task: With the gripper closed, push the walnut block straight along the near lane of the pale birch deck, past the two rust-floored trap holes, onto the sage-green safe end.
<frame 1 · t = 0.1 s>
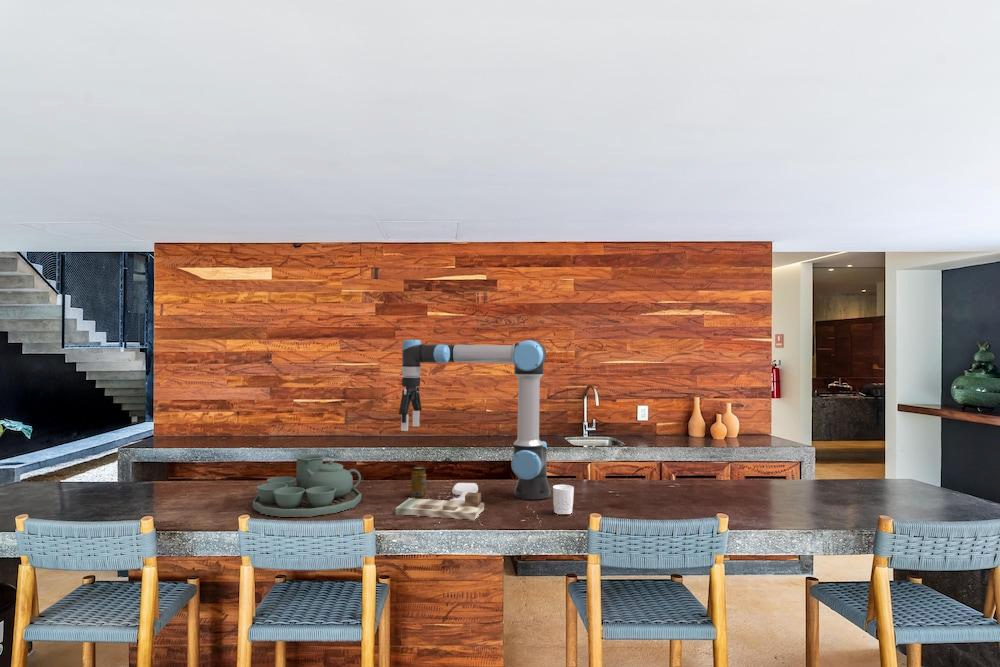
hand: (410, 428, 253), 28 cm above the counter, tool pointing down, fingers open, 13 cm apart
trap deck: (440, 512, 230), on the counter
walnut block: (472, 504, 231), point 2 cm above the counter, touching trap deck
condiment: (419, 497, 252), on the counter
white cup: (563, 514, 229), on the counter
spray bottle: (463, 497, 255), on the counter
tea set: (308, 505, 239), on the counter
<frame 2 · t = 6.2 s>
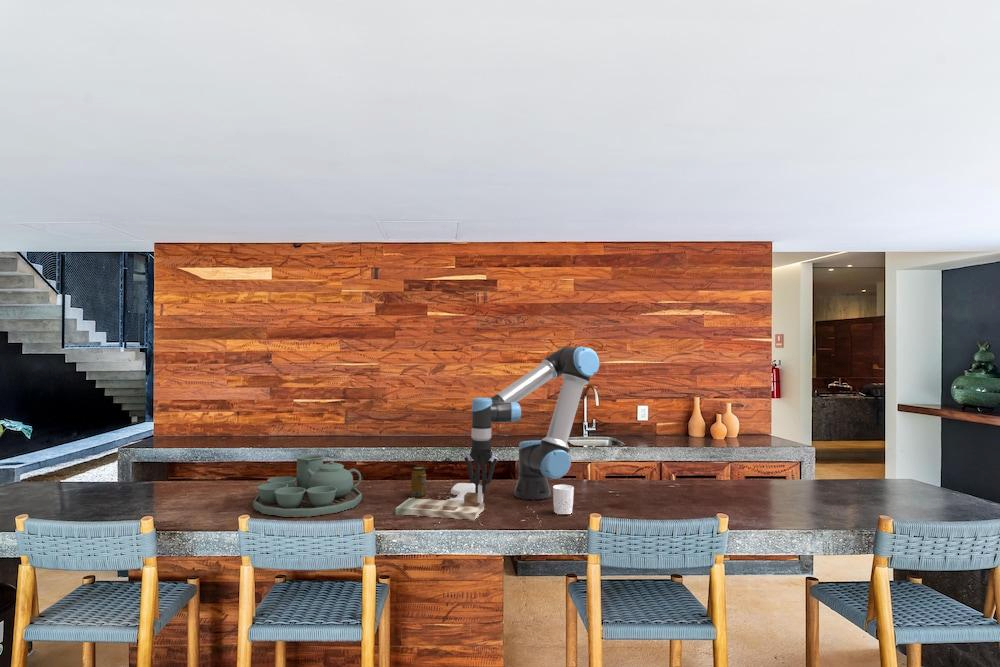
hand: (480, 501, 230), 4 cm above the counter, tool pointing down, fingers closed
walnut block: (472, 504, 231), point 3 cm above the counter, touching gripper
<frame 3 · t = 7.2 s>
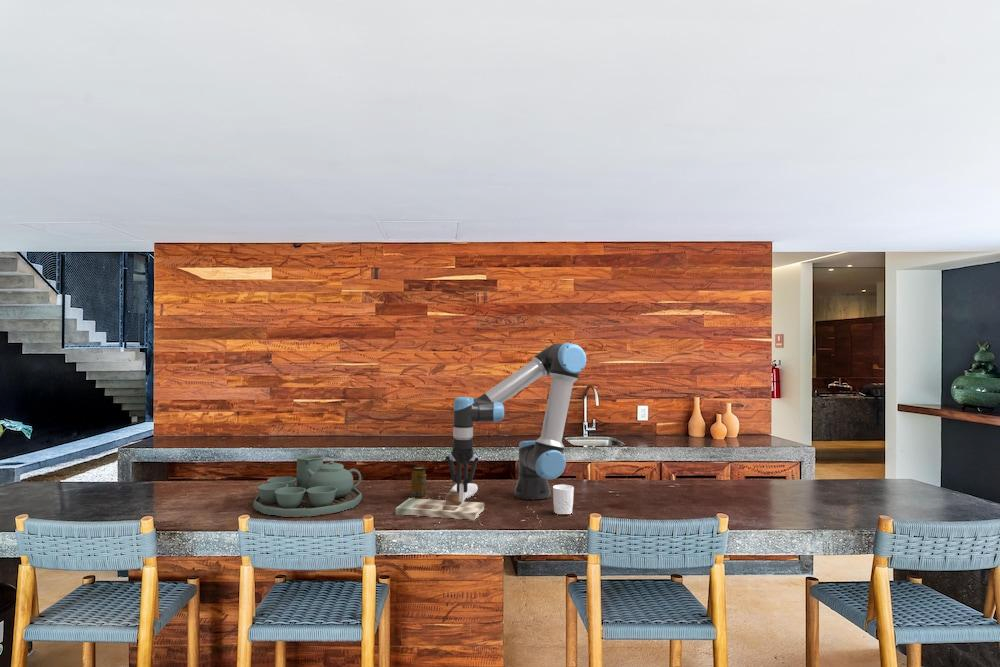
hand: (461, 500, 232), 4 cm above the counter, tool pointing down, fingers closed
walnut block: (453, 503, 232), point 3 cm above the counter, touching gripper
everything else where it was.
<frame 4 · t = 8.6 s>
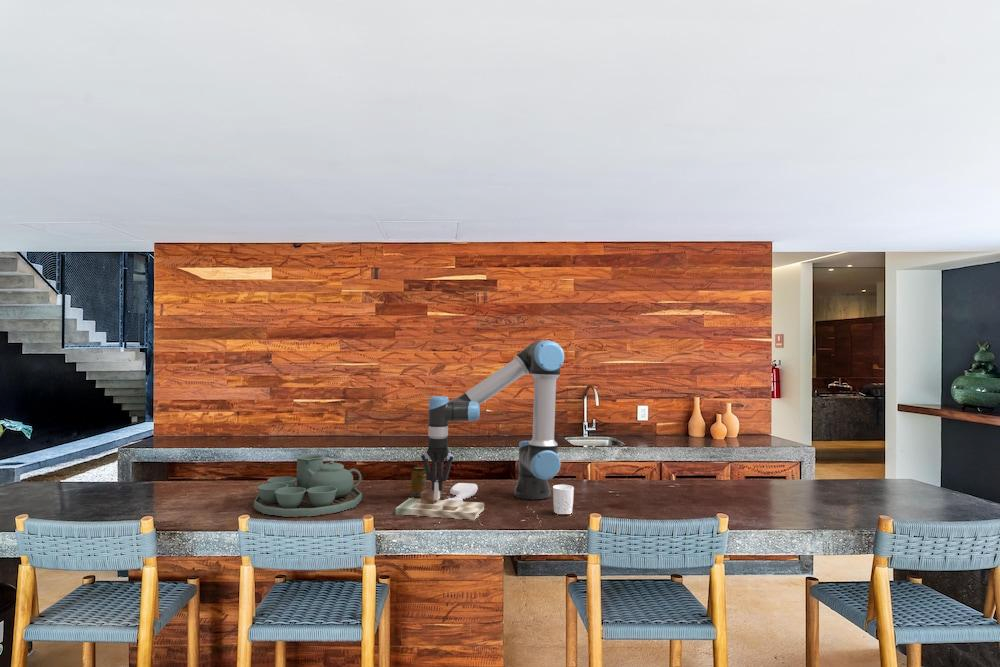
hand: (437, 499, 234), 4 cm above the counter, tool pointing down, fingers closed
walnut block: (428, 502, 234), point 3 cm above the counter, touching gripper, trap deck
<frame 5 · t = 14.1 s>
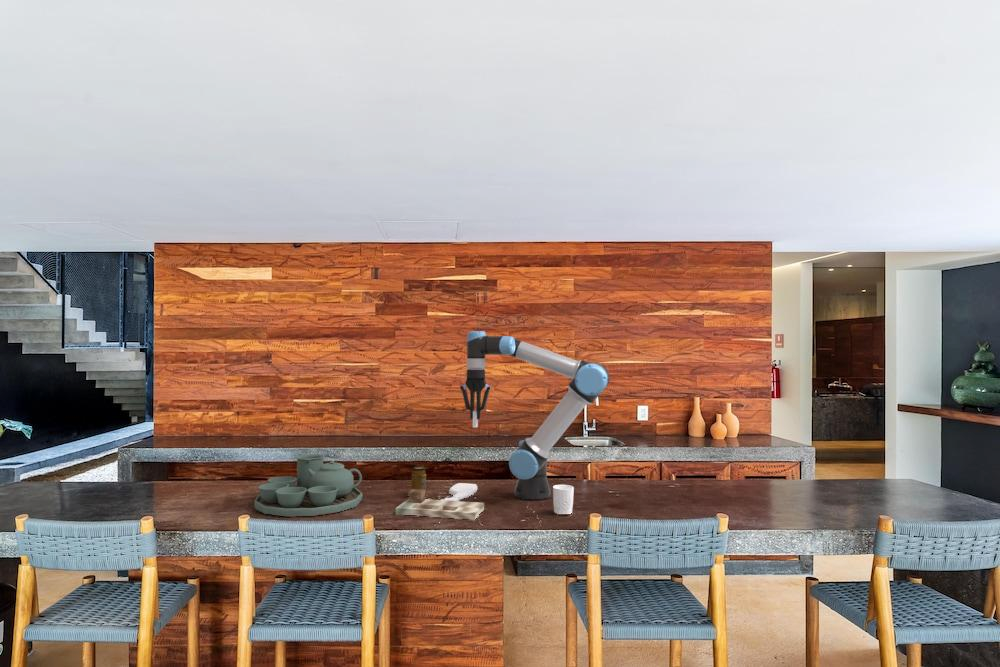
hand: (475, 427, 249), 29 cm above the counter, tool pointing down, fingers closed
walnut block: (416, 501, 235), point 2 cm above the counter, touching trap deck
at the end: walnut block inside the target area on the trap deck (1.4 cm from its centre), point 2.5 cm above the trap deck's base; walnut block tilted 0° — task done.
